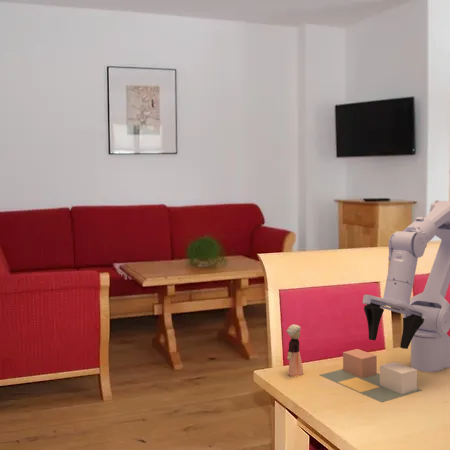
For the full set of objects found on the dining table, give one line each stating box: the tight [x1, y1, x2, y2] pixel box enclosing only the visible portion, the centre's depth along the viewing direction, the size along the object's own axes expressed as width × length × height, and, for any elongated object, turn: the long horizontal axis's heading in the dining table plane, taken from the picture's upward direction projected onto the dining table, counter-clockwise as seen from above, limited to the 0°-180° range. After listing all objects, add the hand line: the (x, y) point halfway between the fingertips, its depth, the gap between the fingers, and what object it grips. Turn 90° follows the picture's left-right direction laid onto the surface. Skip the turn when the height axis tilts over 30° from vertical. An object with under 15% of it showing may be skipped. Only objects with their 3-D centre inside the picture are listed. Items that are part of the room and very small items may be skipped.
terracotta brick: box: [342, 348, 378, 378], centre depth 139 cm, size 5×6×4 cm
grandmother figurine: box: [286, 324, 304, 378], centre depth 139 cm, size 8×4×13 cm, turn 168°
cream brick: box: [379, 361, 418, 394], centre depth 129 cm, size 5×6×4 cm
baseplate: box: [319, 368, 423, 403], centre depth 132 cm, size 12×20×1 cm, turn 30°
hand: (388, 344), depth 128 cm, fingers open, 7 cm apart
